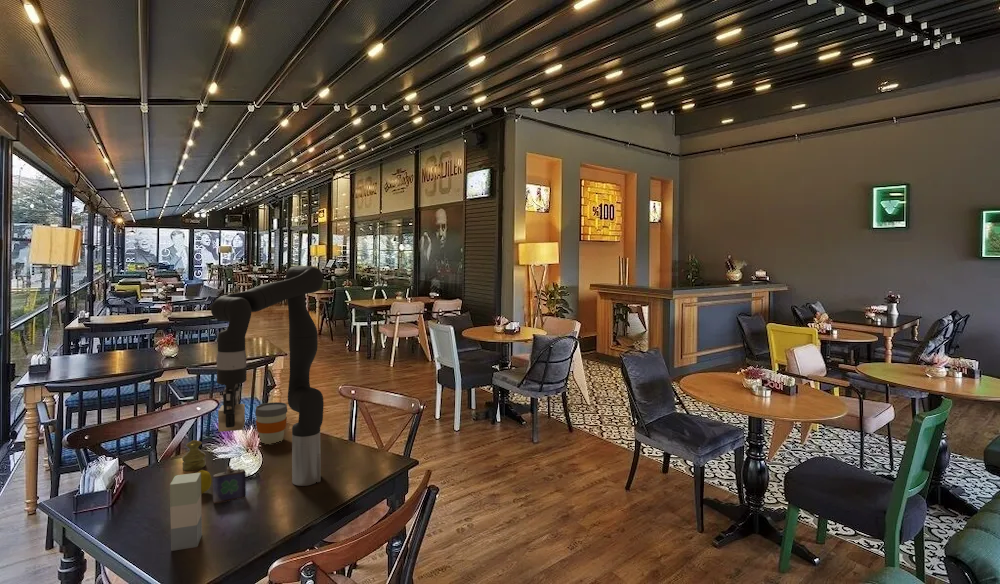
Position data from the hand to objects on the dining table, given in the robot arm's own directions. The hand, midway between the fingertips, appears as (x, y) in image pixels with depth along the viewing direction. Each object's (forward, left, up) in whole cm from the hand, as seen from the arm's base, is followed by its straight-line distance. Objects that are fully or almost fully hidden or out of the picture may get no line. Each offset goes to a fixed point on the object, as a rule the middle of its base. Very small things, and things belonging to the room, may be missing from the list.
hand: (232, 423), depth 144 cm
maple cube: (0, 0, -1) cm, 1 cm away
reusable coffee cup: (-6, -70, -30) cm, 76 cm away
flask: (+3, -17, -30) cm, 34 cm away
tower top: (+10, +7, -18) cm, 22 cm away
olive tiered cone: (+19, -49, -30) cm, 60 cm away
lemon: (+12, -24, -30) cm, 40 cm away
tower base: (+10, +7, -30) cm, 32 cm away
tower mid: (+10, +7, -24) cm, 27 cm away
